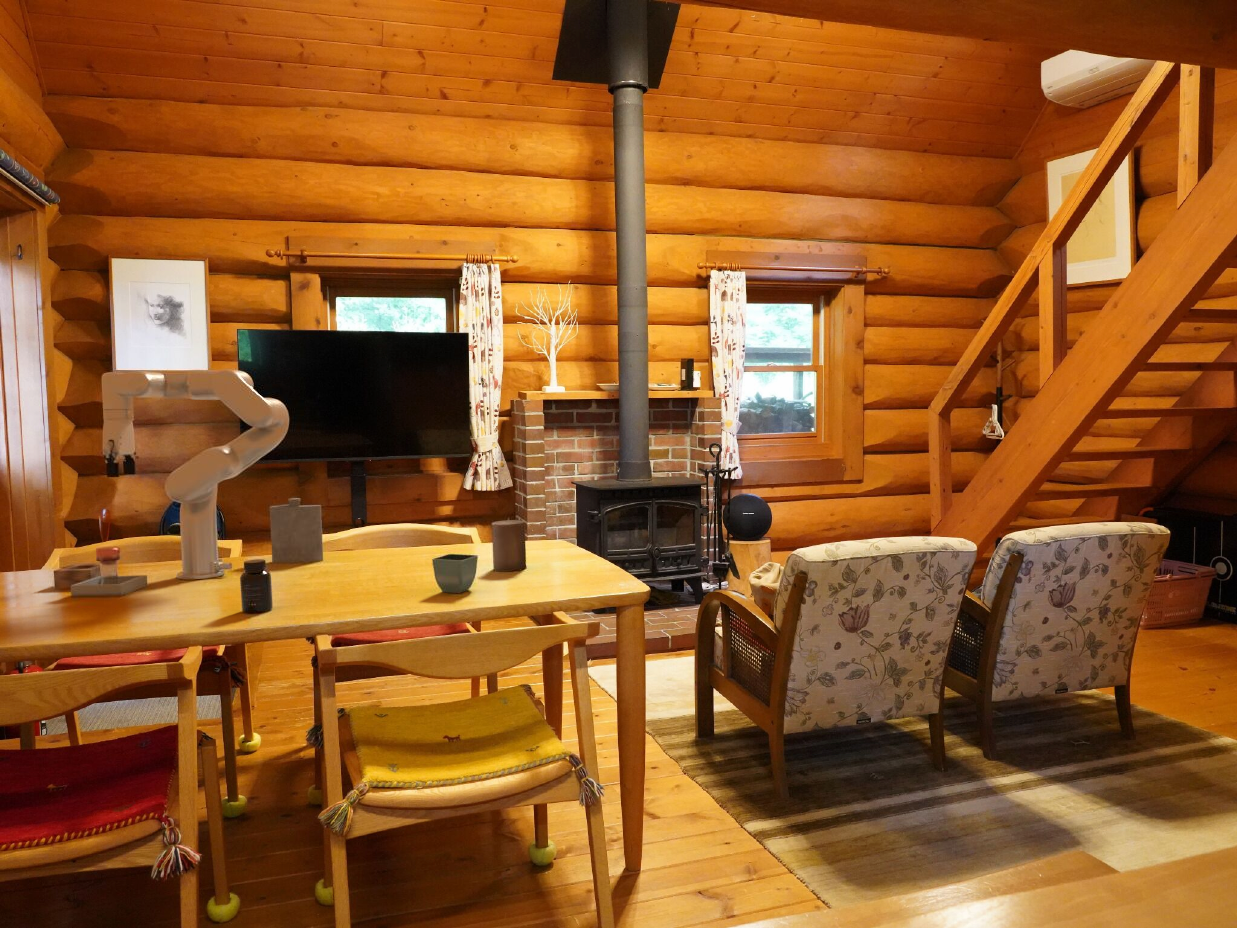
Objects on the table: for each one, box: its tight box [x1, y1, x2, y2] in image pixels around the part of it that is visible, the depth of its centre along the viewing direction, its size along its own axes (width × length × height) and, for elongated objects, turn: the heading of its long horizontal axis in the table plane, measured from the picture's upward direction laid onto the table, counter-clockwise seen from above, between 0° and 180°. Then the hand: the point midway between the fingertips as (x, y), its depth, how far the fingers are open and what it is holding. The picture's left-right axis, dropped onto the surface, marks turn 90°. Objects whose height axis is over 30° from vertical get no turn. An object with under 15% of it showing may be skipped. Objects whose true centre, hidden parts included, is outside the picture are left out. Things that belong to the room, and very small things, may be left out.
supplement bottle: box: [239, 558, 273, 615], centre depth 212 cm, size 7×7×12 cm
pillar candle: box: [491, 517, 527, 572], centre depth 261 cm, size 10×10×15 cm
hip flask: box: [269, 497, 324, 564], centre depth 281 cm, size 16×4×20 cm, turn 89°
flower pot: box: [431, 553, 479, 594], centre depth 230 cm, size 9×9×9 cm
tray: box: [70, 574, 148, 598], centre depth 239 cm, size 13×13×3 cm
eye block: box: [53, 563, 100, 590], centre depth 249 cm, size 10×10×5 cm
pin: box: [95, 546, 122, 584], centre depth 239 cm, size 6×6×11 cm
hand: (121, 475), depth 256 cm, fingers open, 9 cm apart
